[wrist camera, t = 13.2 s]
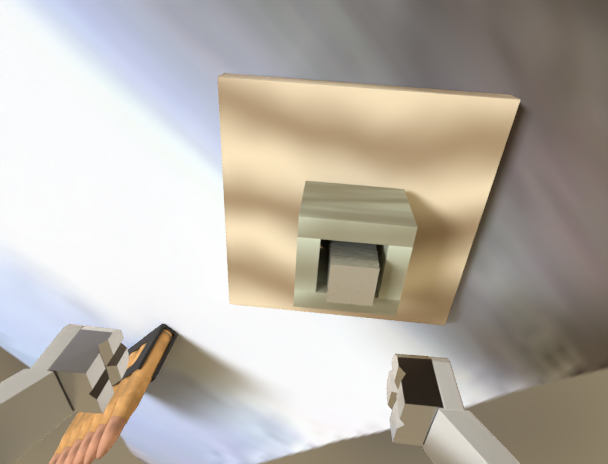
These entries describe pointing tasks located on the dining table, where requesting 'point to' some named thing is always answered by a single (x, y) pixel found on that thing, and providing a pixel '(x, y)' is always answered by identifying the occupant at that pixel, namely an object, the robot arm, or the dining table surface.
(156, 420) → the dining table surface
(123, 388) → the ammunition clip
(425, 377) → the robot arm
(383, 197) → the collar
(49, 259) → the dining table surface
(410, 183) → the shaft board
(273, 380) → the dining table surface
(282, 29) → the dining table surface
